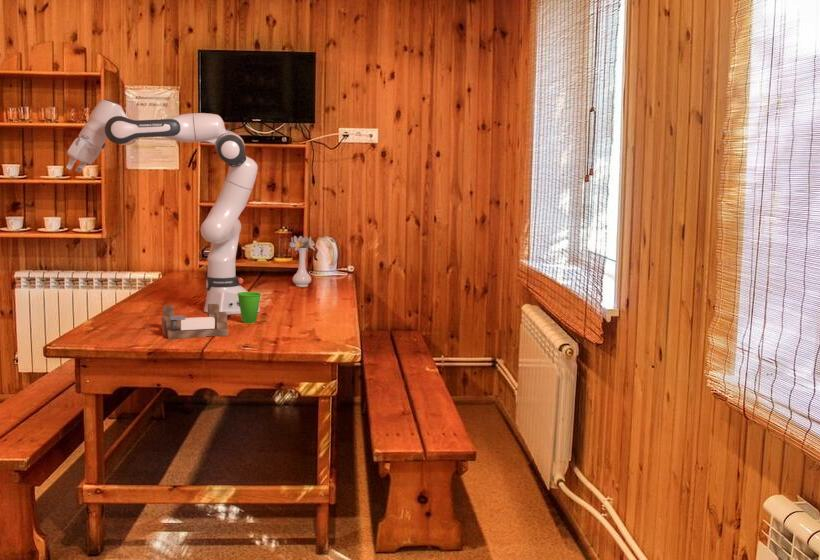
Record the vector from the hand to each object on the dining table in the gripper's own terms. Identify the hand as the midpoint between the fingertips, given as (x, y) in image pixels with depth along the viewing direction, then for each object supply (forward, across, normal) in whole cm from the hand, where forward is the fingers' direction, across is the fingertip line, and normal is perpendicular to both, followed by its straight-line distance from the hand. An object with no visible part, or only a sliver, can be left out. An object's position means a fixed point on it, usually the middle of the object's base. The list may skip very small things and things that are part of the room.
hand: (72, 170), depth 298 cm
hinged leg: (+25, -29, -71) cm, 81 cm away
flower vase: (+1, +89, -92) cm, 129 cm away
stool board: (+27, -21, -71) cm, 79 cm away
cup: (+17, -2, -85) cm, 87 cm away
